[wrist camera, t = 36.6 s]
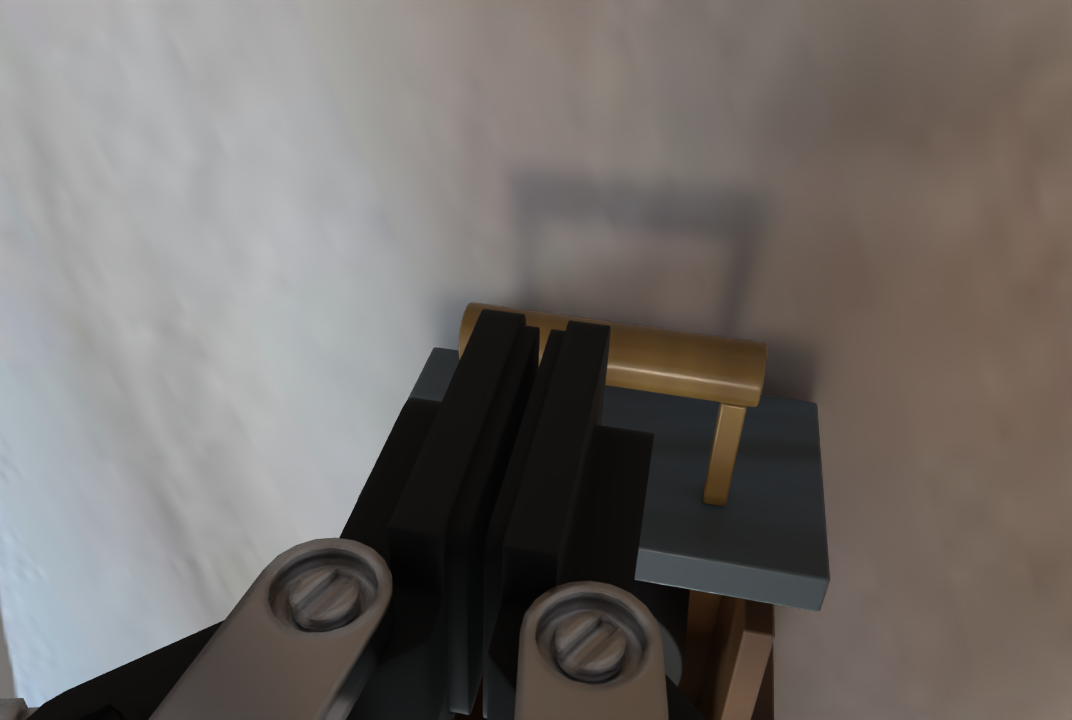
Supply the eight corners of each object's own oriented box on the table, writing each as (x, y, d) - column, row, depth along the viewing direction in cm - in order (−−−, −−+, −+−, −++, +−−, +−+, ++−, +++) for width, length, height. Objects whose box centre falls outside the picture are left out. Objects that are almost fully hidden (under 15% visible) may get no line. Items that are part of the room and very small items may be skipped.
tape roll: (658, 461, 29) (642, 575, 25) (716, 596, 31) (709, 716, 28) (482, 493, 31) (444, 602, 27) (551, 616, 34) (525, 729, 30)
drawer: (429, 206, 26) (339, 343, 21) (856, 259, 25) (882, 422, 19) (443, 646, 38) (387, 810, 32) (737, 701, 36) (732, 885, 31)
